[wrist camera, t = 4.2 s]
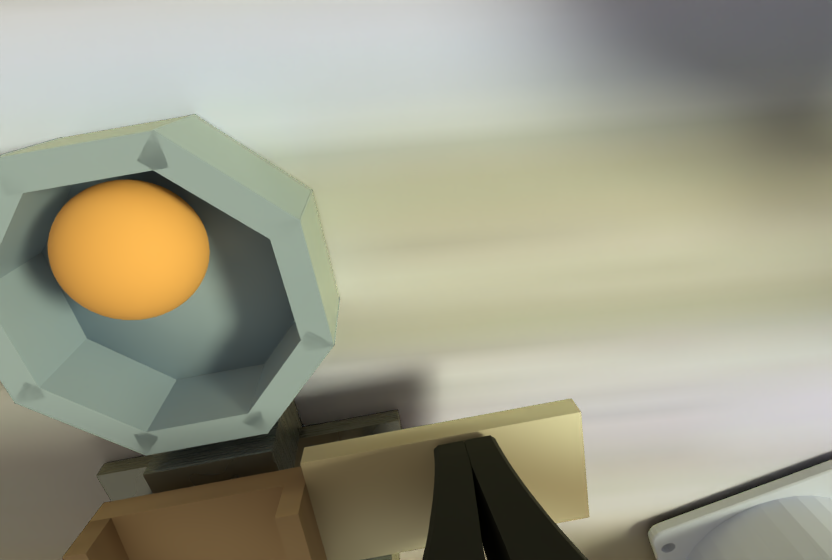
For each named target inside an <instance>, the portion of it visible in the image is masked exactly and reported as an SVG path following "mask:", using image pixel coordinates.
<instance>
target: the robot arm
mask: <svg viewBox="0 0 832 560" xmlns="http://www.w3.org/2000/svg"><path fill="white" fill-rule="evenodd" d="M434 460H435V476H434V490H433V501H432V508H431V515H430V522H429V529H428V535H427V541H426V545H425V550H424V555H423V560H485V557H484V551H485V554H486V557H487V560H588V559H587V558H586V557H585V556H584V555H583V554H582V553H581V552H580V550H579V549H578V548H577V547H576V546H575V545H574V544H573V543H572V542H571V541H570V539H569V538H568V537H567V536H566V535H565V534H564V533H563V531H562V530H561V529H560V528H559V527H558V526H557V525H556V523H555V522H554V521H553V520H552V519H551V517H550V516H549V515H548V514H547V512H546V511H545V510H544V509H543V507H542V506H541V505H540V504H539V502H538V501H537V500H536V499H535V497H534V496H533V495H532V494H531V492H530V491H529V490H528V488H527V487H526V486H525V484H524V483H523V481H522V480H521V479H520V477H519V476H518V474H517V473H516V472H515V470H514V469H513V467H512V466H511V464H510V463H509V461H508V460H507V458H506V456H505V455H504V453H503V452H502V450H501V448H500V446H499V445H498V443H497V441H496V439H495V438H494V437H492V436H491V435H489V436H484V437H478V438H473V439H468V440H463V441H458V442H452V443H447V444H442V445H438V446H437V447H436V448H435V449H434ZM648 537H649V540H650V543H651V546H652V549H653V552H654V555H655V558H656V560H832V460H829V461H826V462H823V463H821V464H818V465H815V466H812V467H810V468H807V469H804V470H802V471H799V472H796V473H793V474H791V475H788V476H785V477H782V478H780V479H777V480H774V481H772V482H769V483H766V484H763V485H761V486H758V487H755V488H752V489H750V490H747V491H744V492H742V493H739V494H736V495H733V496H731V497H728V498H725V499H722V500H720V501H717V502H714V503H712V504H709V505H706V506H703V507H701V508H698V509H695V510H692V511H690V512H687V513H684V514H682V515H679V516H676V517H673V518H671V519H668V520H665V521H663V522H660V523H657V524H655V525H653V526H652V527H651V528H650V530H649V532H648ZM482 543H483V544H482ZM483 547H484V551H483Z"/></svg>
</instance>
